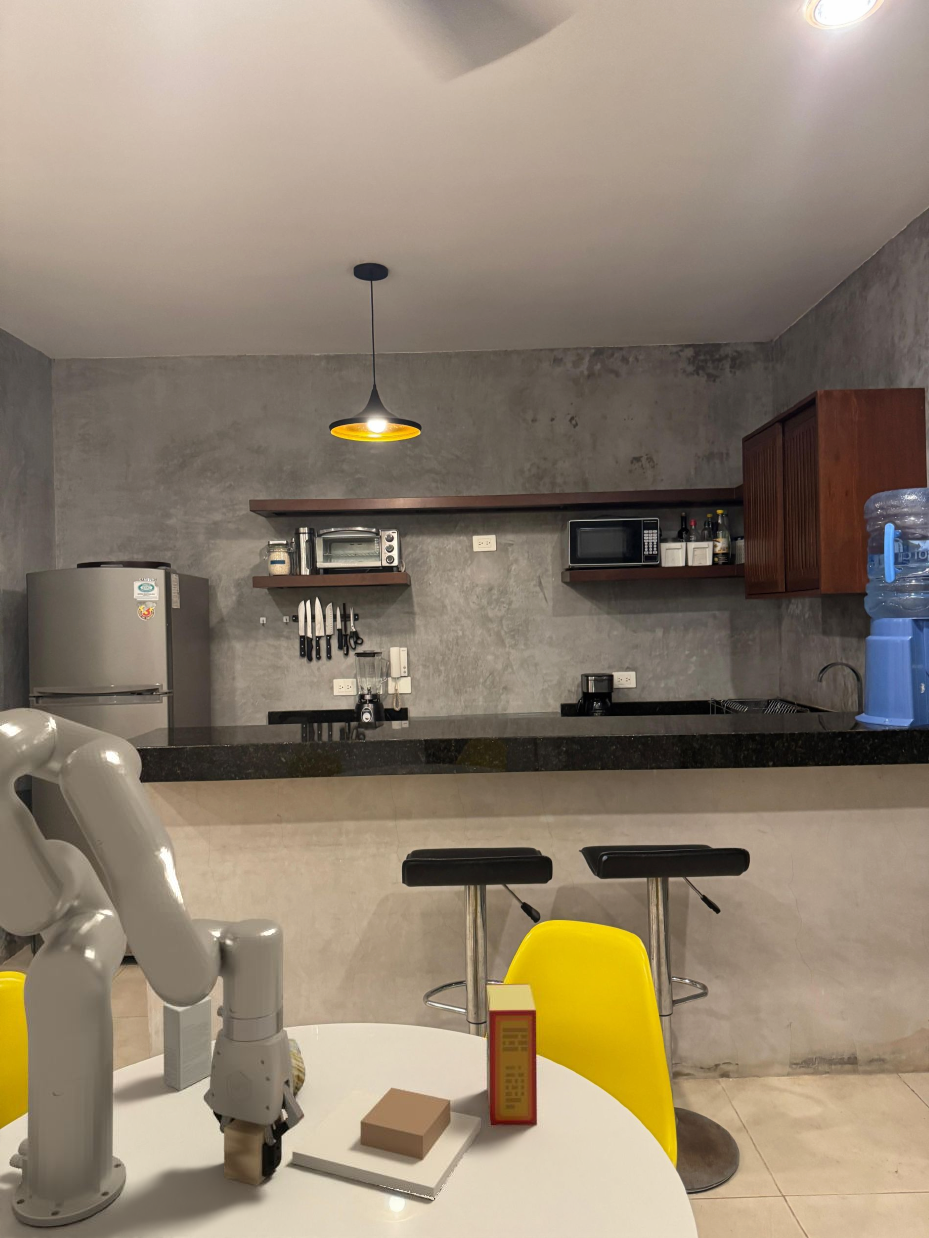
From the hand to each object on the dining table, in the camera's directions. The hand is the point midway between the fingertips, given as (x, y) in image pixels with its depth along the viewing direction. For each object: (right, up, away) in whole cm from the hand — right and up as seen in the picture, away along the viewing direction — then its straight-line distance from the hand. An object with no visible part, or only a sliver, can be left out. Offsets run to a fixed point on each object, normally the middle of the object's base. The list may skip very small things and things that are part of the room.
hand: (252, 1163), depth 107 cm
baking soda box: (+34, -1, +14) cm, 37 cm away
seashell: (-2, -2, +18) cm, 18 cm away
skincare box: (-16, -2, +22) cm, 27 cm away
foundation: (+17, -1, +5) cm, 18 cm away
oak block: (0, -1, 0) cm, 1 cm away
